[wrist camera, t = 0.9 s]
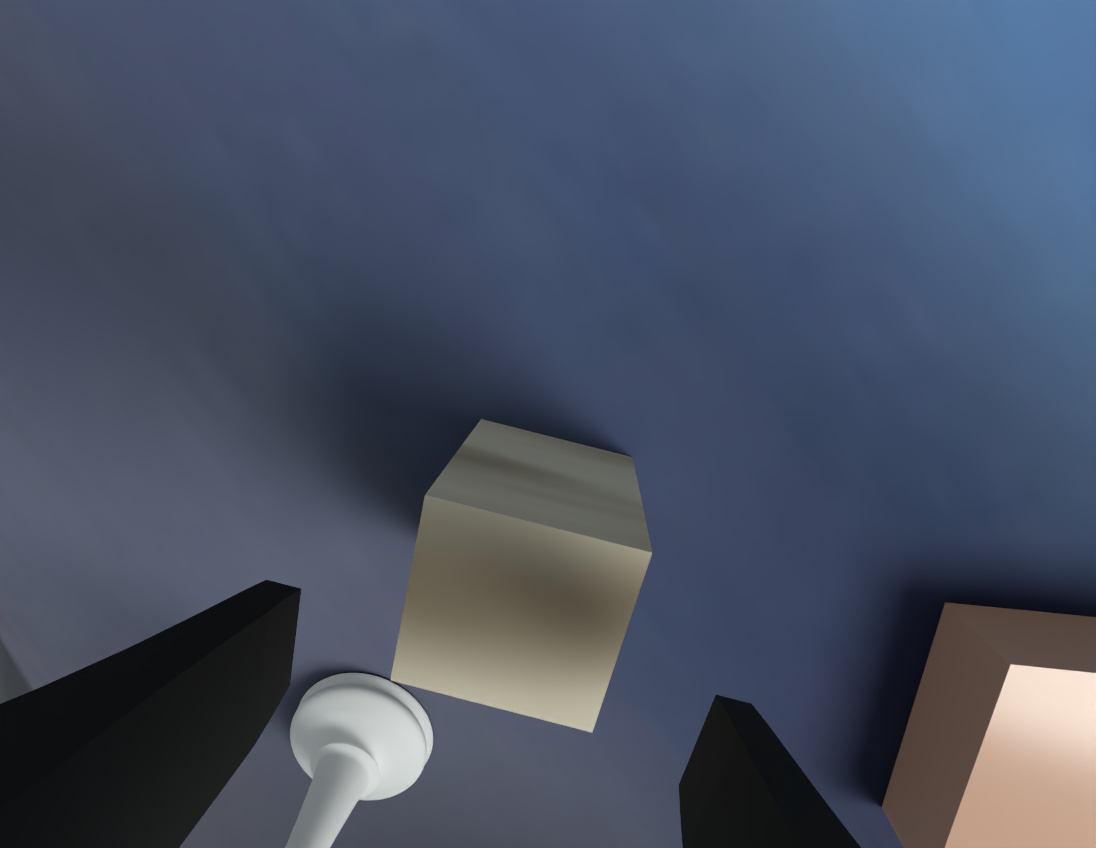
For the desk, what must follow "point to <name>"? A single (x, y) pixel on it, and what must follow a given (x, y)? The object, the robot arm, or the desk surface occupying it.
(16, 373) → the desk surface
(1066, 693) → the block
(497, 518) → the metal block
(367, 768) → the chess piece
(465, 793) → the desk surface
